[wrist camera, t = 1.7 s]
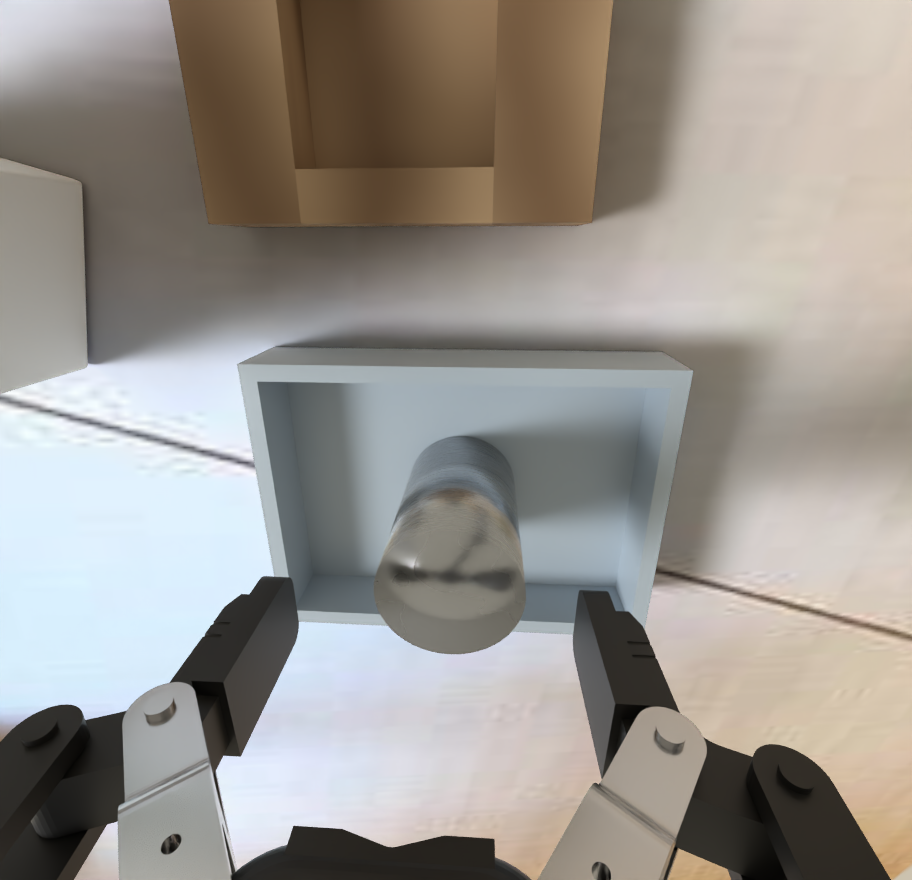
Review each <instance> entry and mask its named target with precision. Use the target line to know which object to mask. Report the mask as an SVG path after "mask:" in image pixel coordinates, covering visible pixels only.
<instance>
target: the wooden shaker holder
mask: <svg viewBox="0 0 912 880" xmlns="http://www.w3.org/2000/svg"><path fill="white" fill-rule="evenodd" d="M169 4H170V10H171V15H172V21H173V26H174V32H175V38H176V43H177V49H178V54H179V60H180V66H181V71H182V77H183V82H184V88H185V94H186V99H187V105H188V111H189V116H190V122H191V127H192V133H193V139H194V144H195V150H196V155H197V161H198V167H199V172H200V178H201V183H202V189H203V195H204V200H205V206H206V212H207V217H208V223H209V224H216V225H229V226H242V227H337V226H578V225H583V224H587V223H592V215H593V205H594V195H595V184H596V174H597V163H598V153H599V143H600V132H601V122H602V112H603V101H604V91H605V81H606V70H607V60H608V50H609V39H610V29H611V18H612V8H613V0H169Z"/></svg>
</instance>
